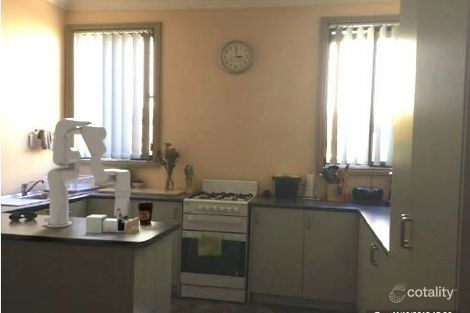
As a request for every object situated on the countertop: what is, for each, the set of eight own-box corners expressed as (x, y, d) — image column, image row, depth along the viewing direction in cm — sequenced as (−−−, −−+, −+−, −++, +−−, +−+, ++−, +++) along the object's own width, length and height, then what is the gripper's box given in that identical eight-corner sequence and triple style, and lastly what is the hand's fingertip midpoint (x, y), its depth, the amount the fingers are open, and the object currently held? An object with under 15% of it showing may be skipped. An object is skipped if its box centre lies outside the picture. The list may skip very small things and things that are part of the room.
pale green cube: (86, 232, 214) (86, 217, 214) (92, 229, 221) (92, 214, 221) (101, 232, 213) (101, 217, 213) (107, 229, 220) (106, 214, 220)
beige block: (125, 234, 211) (125, 220, 211) (131, 230, 220) (131, 216, 220) (132, 234, 210) (132, 220, 210) (139, 230, 219) (138, 217, 219)
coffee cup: (149, 227, 228) (149, 203, 227) (135, 226, 229) (135, 202, 229) (155, 223, 236) (155, 200, 236) (141, 223, 238) (141, 200, 237)
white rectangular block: (98, 231, 215) (98, 219, 215) (102, 229, 219) (102, 218, 219) (130, 232, 213) (130, 220, 213) (133, 230, 217) (133, 219, 217)
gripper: (121, 191, 224) (122, 226, 224) (108, 196, 207) (109, 233, 208) (135, 192, 223) (135, 226, 224) (123, 196, 206) (123, 233, 207)
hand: (122, 229), depth 216 cm, fingers closed on white rectangular block, 4 cm apart
